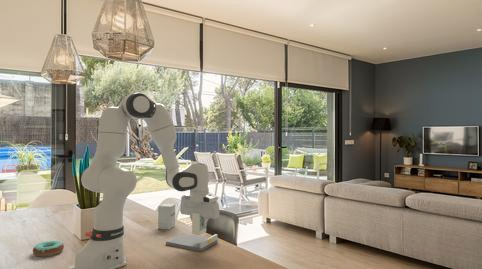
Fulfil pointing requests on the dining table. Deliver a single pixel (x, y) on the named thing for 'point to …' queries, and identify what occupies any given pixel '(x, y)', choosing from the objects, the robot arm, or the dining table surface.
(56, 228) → the dining table surface
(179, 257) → the dining table surface
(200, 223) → the carton
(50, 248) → the donut
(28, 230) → the dining table surface
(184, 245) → the grey panel white edge
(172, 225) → the supplement box
